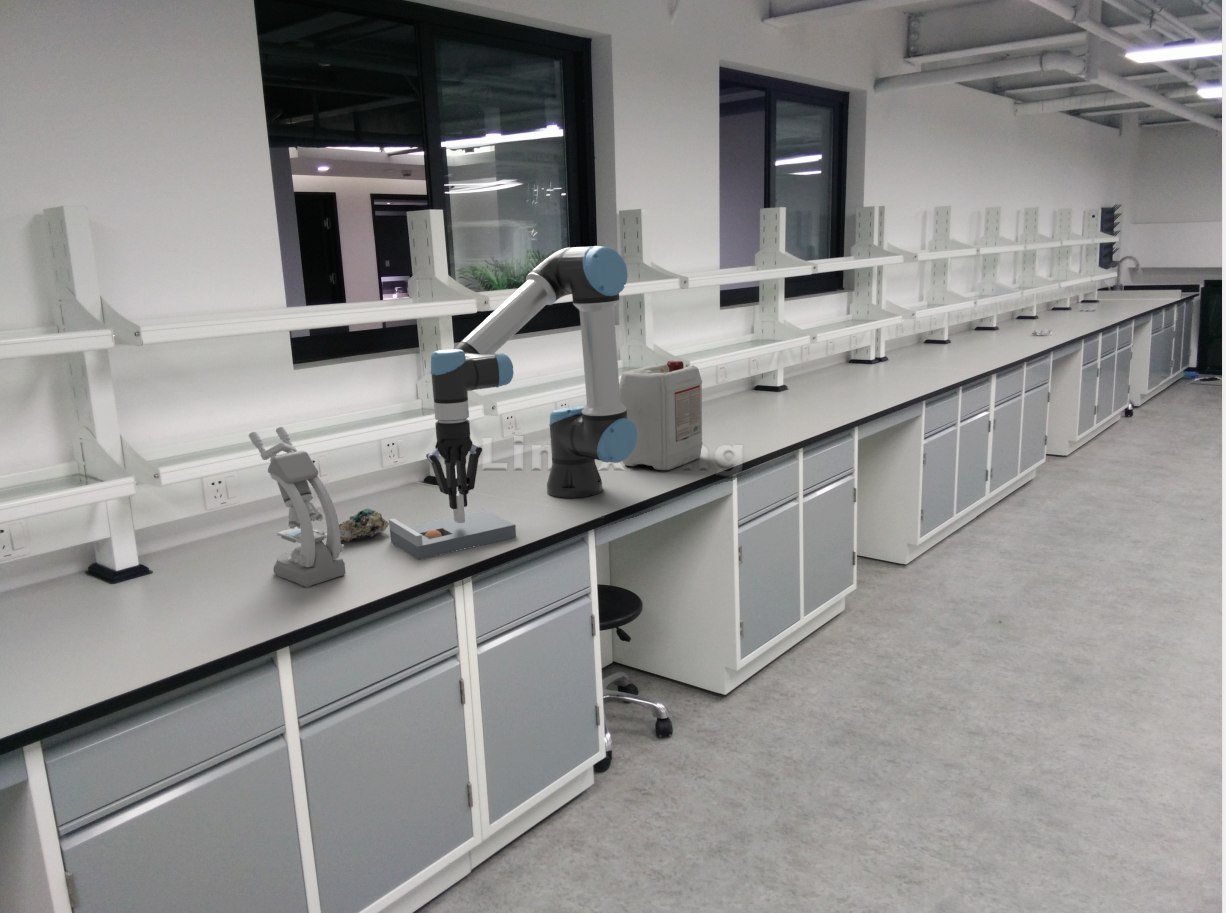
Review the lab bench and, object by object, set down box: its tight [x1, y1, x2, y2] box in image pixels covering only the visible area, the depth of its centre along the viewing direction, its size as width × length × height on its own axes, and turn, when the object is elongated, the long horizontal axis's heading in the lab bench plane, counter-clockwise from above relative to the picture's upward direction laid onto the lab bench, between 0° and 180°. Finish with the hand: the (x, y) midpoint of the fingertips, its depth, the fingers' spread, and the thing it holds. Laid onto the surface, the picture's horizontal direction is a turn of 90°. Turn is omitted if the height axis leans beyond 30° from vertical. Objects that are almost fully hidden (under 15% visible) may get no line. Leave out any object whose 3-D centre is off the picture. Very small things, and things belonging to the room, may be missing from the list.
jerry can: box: [619, 360, 704, 471], centre depth 271 cm, size 24×19×30 cm
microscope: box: [248, 426, 346, 588], centre depth 185 cm, size 11×19×30 cm, turn 49°
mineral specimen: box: [339, 508, 389, 543], centre depth 210 cm, size 12×9×8 cm
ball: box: [425, 530, 442, 539], centre depth 202 cm, size 4×4×4 cm
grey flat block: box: [388, 509, 517, 561], centre depth 207 cm, size 24×16×5 cm, turn 125°
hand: (459, 521), depth 205 cm, fingers closed
